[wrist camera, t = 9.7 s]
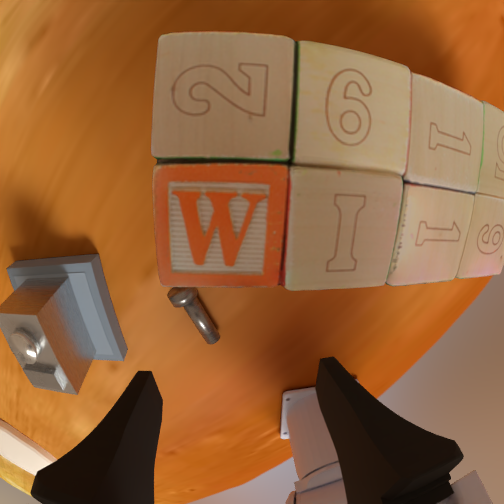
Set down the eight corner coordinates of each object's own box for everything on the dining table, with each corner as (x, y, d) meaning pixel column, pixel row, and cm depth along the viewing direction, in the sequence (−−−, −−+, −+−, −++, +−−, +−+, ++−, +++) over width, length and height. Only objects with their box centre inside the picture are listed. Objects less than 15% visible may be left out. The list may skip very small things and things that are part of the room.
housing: (96, 351, 20) (74, 402, 15) (56, 348, 20) (30, 393, 15) (69, 276, 18) (30, 323, 12) (27, 278, 17) (-13, 319, 12)
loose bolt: (224, 329, 22) (225, 346, 20) (202, 338, 22) (201, 354, 21) (193, 277, 20) (191, 291, 18) (169, 287, 20) (165, 301, 19)
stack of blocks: (465, 141, 18) (583, 172, 7) (455, 210, 20) (562, 271, 9) (199, 96, 16) (152, 27, 4) (196, 193, 18) (153, 293, 7)
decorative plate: (-25, 443, 29) (-47, 399, 22) (-19, 432, 32) (-38, 385, 25) (62, 495, 36) (66, 474, 29) (65, 482, 39) (71, 457, 32)
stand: (127, 349, 22) (123, 361, 21) (49, 345, 22) (43, 355, 20) (98, 253, 19) (90, 262, 17) (15, 261, 18) (6, 268, 17)
